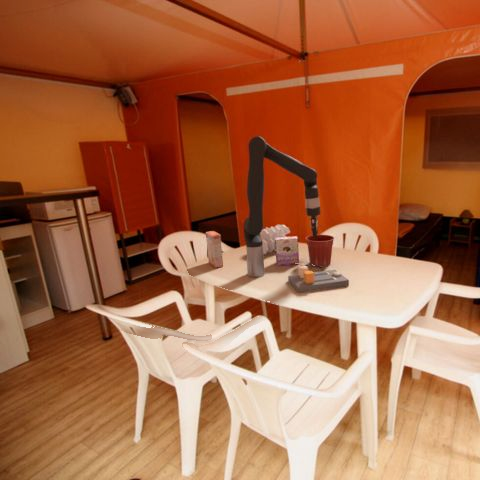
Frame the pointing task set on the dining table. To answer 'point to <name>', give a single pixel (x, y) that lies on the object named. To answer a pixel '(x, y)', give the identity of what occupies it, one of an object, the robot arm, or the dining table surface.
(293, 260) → the candy box
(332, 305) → the dining table surface
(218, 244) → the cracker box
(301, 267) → the ivory slider
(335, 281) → the panel
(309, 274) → the orange slider
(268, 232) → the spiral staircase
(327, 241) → the flower pot
